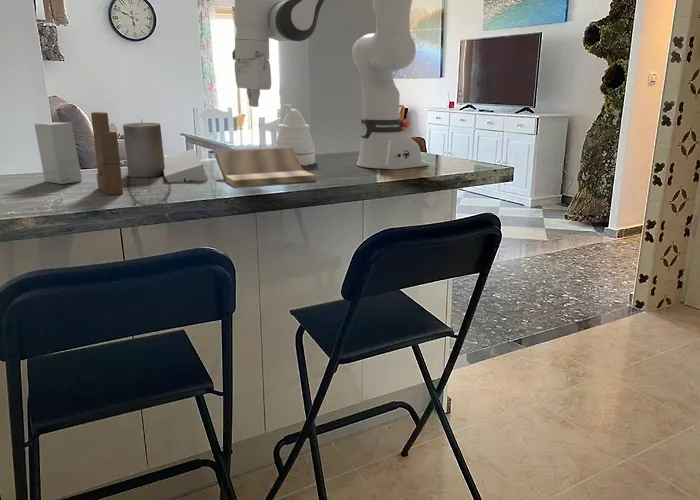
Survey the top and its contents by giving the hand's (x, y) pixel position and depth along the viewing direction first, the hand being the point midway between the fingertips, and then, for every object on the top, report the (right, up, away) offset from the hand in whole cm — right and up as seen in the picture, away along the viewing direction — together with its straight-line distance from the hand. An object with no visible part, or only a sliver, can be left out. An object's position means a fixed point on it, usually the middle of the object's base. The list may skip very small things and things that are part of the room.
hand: (253, 106), depth 156 cm
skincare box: (-48, -22, -8) cm, 53 cm away
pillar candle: (-30, -18, +3) cm, 35 cm away
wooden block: (-31, -25, -20) cm, 44 cm away
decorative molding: (-22, -17, +10) cm, 29 cm away
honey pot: (+8, -11, +28) cm, 31 cm away
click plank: (+1, -16, +3) cm, 16 cm away
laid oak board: (+5, -21, -5) cm, 22 cm away
